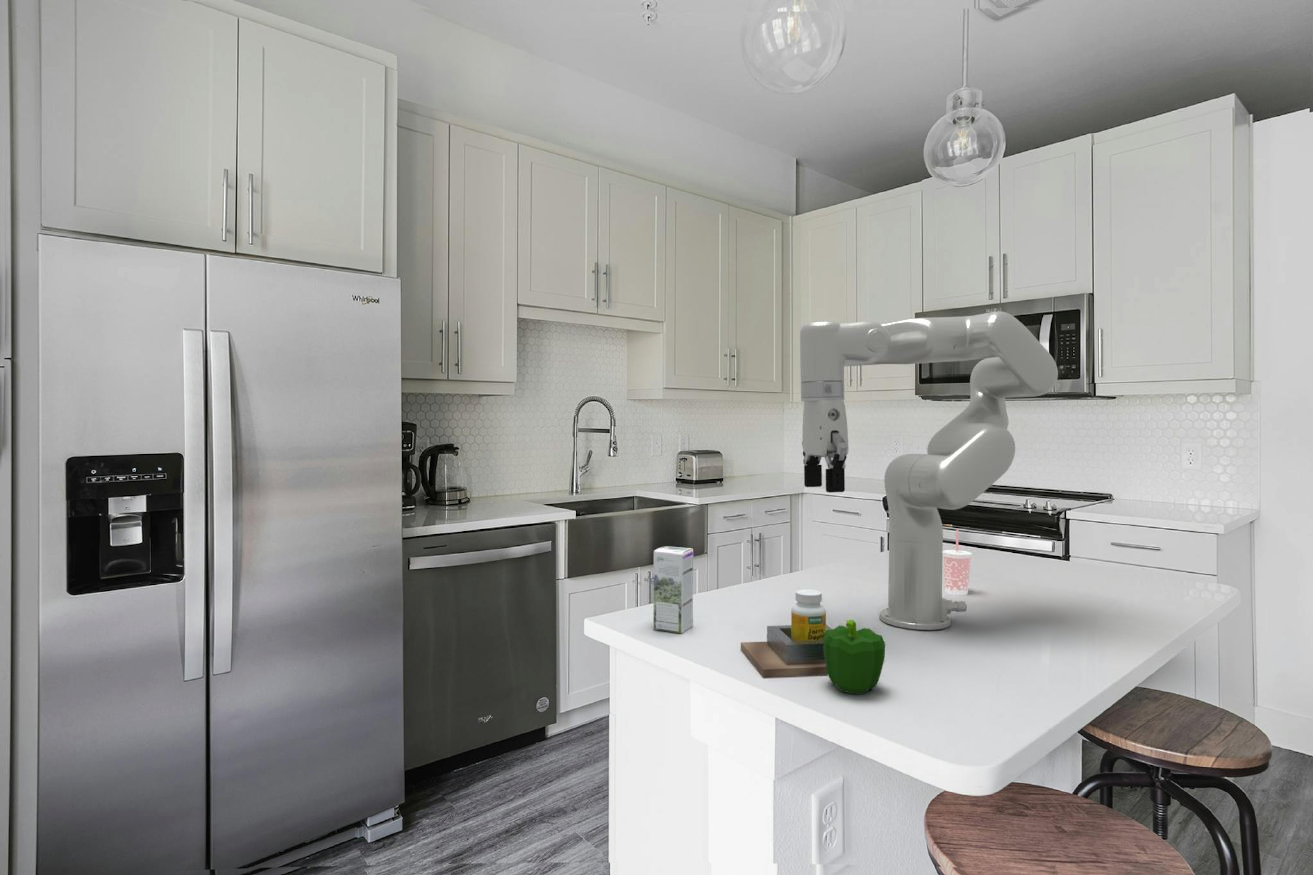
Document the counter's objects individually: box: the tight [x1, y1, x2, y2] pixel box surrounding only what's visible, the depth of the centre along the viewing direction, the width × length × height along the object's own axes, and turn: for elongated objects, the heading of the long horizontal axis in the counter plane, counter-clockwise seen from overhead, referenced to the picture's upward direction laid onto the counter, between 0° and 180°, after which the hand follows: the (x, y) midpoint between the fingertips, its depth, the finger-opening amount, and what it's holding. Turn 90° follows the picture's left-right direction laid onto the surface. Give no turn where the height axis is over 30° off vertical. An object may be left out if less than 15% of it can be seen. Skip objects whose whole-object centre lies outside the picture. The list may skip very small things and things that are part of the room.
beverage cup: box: [943, 529, 973, 596], centre depth 158 cm, size 6×6×14 cm
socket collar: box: [766, 623, 834, 665], centre depth 112 cm, size 10×10×3 cm
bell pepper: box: [823, 619, 886, 695], centre depth 100 cm, size 8×8×10 cm
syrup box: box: [653, 545, 694, 634], centre depth 129 cm, size 6×6×14 cm
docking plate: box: [740, 640, 828, 679], centre depth 112 cm, size 18×13×1 cm
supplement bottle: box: [790, 588, 827, 642], centre depth 112 cm, size 5×5×10 cm
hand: (823, 489), depth 126 cm, fingers open, 9 cm apart
